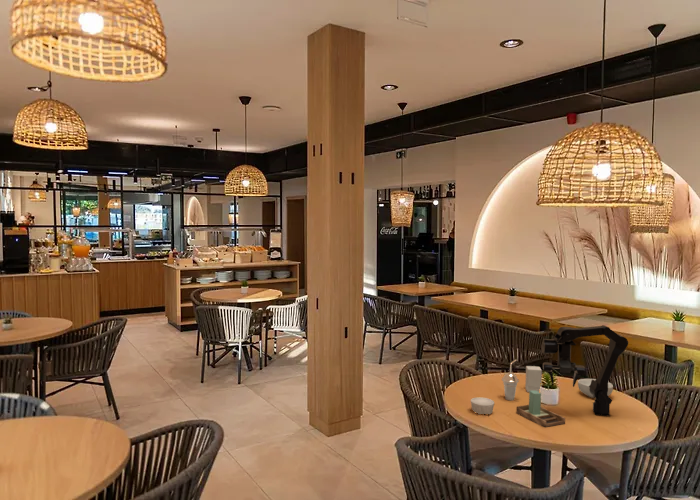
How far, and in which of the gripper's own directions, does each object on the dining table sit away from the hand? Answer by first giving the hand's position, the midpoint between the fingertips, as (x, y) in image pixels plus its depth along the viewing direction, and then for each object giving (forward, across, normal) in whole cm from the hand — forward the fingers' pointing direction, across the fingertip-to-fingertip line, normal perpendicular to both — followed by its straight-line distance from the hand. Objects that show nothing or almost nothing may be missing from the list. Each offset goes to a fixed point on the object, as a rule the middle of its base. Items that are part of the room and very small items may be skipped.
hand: (563, 385), depth 250 cm
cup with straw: (+13, -24, +11) cm, 30 cm away
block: (+12, -13, -9) cm, 20 cm away
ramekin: (+13, -37, -12) cm, 41 cm away
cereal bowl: (+13, +19, +31) cm, 39 cm away
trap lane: (+13, -11, -12) cm, 21 cm away
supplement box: (+13, -12, +29) cm, 34 cm away
